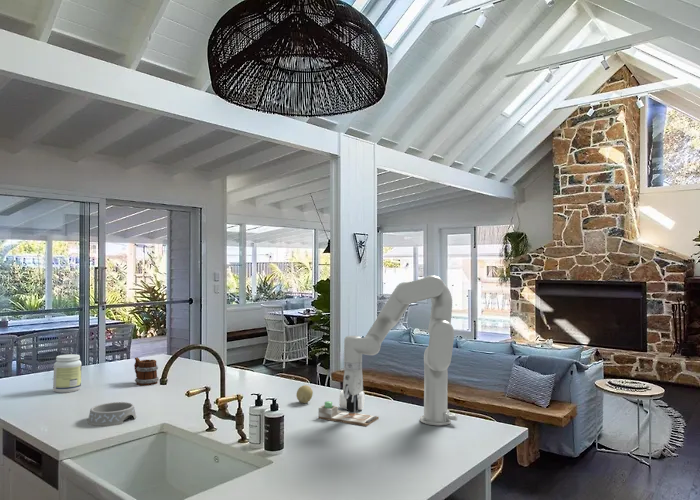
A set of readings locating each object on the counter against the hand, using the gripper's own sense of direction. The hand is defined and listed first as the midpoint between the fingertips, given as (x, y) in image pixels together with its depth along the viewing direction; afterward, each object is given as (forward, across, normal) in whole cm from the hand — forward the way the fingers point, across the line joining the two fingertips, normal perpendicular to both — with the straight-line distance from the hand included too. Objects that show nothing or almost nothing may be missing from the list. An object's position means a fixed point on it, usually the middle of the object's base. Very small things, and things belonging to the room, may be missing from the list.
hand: (352, 410), depth 218 cm
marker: (+2, 0, 0) cm, 2 cm away
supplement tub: (+4, -26, +145) cm, 147 cm away
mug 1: (+4, +4, +125) cm, 125 cm away
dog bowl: (+4, -48, +84) cm, 97 cm away
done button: (+1, -3, +10) cm, 10 cm away
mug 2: (+4, +16, +8) cm, 18 cm away
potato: (+4, +12, +31) cm, 33 cm away
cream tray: (+4, 0, +2) cm, 4 cm away
